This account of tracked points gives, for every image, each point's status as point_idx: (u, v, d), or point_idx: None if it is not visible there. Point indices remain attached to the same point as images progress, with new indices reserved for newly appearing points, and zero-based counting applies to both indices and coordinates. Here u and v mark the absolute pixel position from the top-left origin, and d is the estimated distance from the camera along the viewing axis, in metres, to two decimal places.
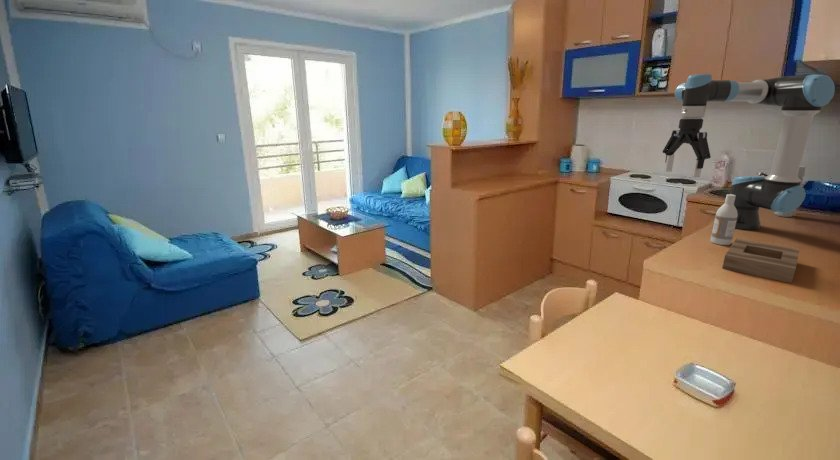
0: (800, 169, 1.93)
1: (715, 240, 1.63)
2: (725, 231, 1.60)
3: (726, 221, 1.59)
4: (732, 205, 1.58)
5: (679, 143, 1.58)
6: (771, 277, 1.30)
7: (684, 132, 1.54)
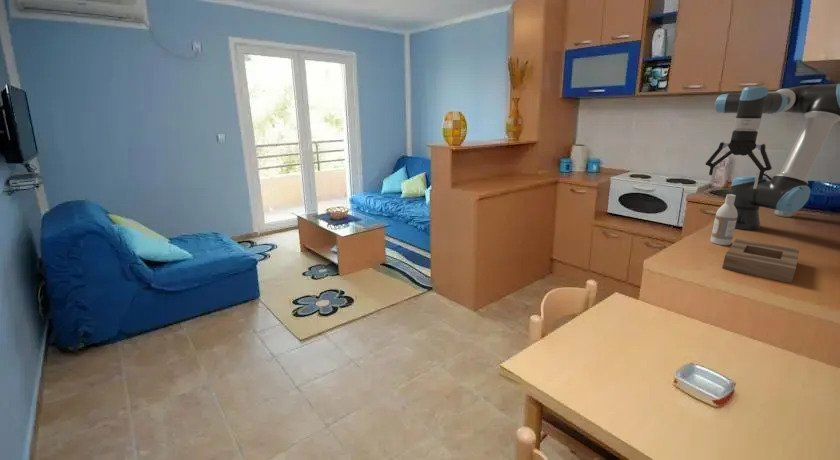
0: None
1: (715, 240, 1.63)
2: (725, 231, 1.60)
3: (726, 222, 1.59)
4: (732, 205, 1.58)
5: None
6: (771, 277, 1.30)
7: (738, 144, 1.53)
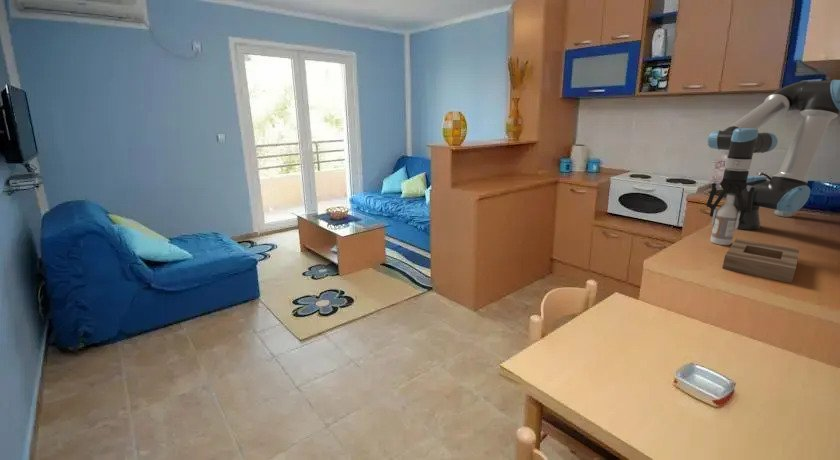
0: None
1: (715, 240, 1.63)
2: (725, 231, 1.60)
3: (726, 221, 1.59)
4: (732, 205, 1.58)
5: (724, 194, 1.60)
6: (771, 277, 1.30)
7: (729, 181, 1.57)
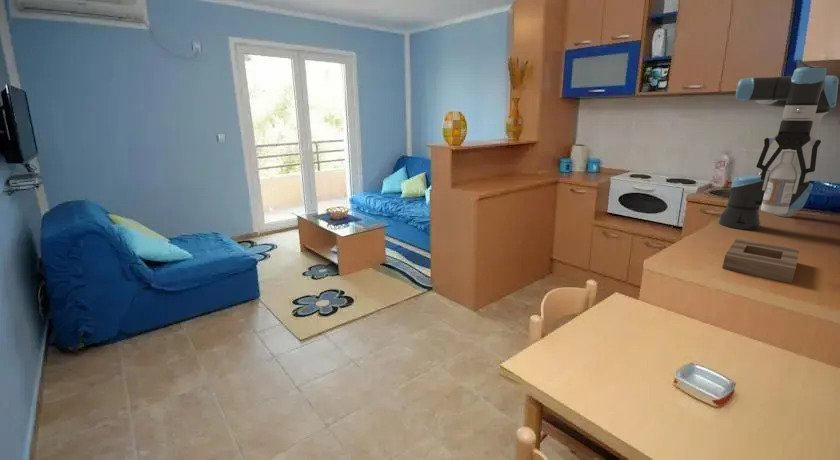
0: None
1: (768, 208, 1.34)
2: (781, 196, 1.31)
3: (782, 184, 1.30)
4: (790, 164, 1.29)
5: (780, 151, 1.31)
6: (771, 277, 1.30)
7: (787, 134, 1.28)
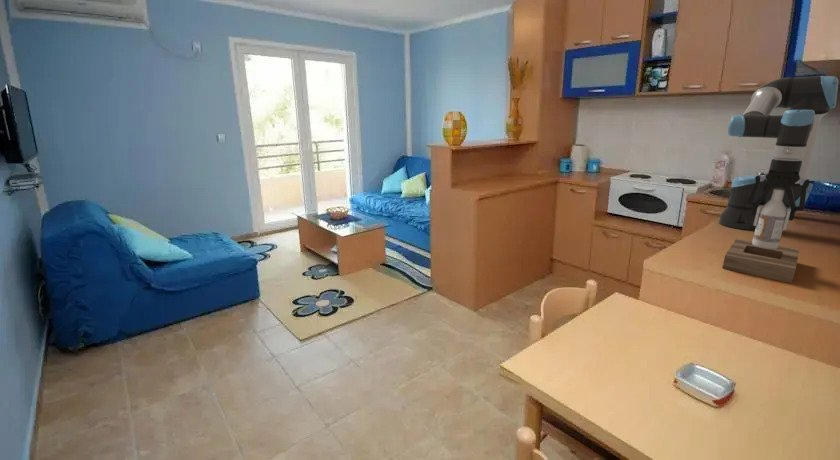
0: None
1: (759, 244, 1.38)
2: (771, 232, 1.35)
3: (773, 221, 1.34)
4: (780, 202, 1.33)
5: (771, 189, 1.35)
6: (771, 277, 1.30)
7: (778, 173, 1.32)
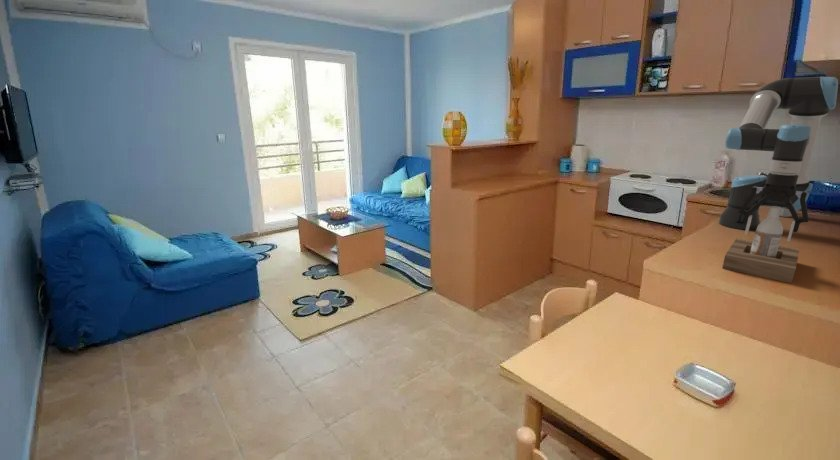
0: None
1: None
2: (767, 249, 1.36)
3: (769, 238, 1.35)
4: (777, 219, 1.35)
5: (765, 201, 1.36)
6: (771, 277, 1.30)
7: (774, 188, 1.33)
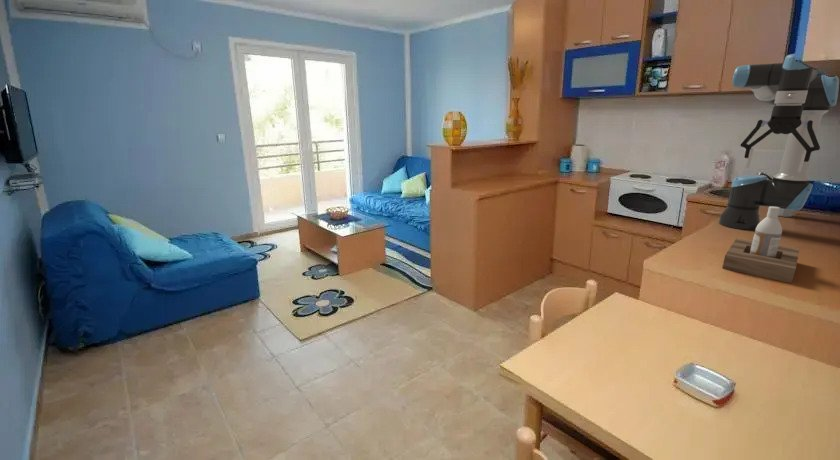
0: None
1: None
2: (767, 249, 1.37)
3: (768, 239, 1.36)
4: (776, 219, 1.35)
5: (768, 134, 1.36)
6: (771, 277, 1.30)
7: (780, 121, 1.33)
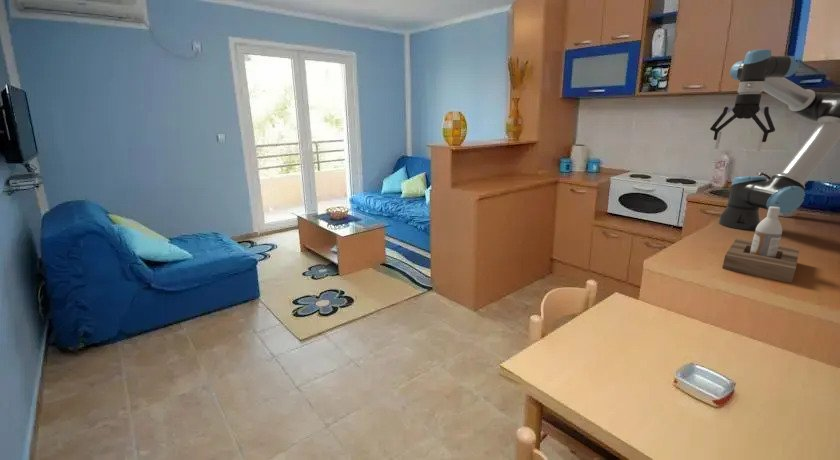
0: None
1: None
2: (767, 249, 1.37)
3: (768, 239, 1.35)
4: (776, 219, 1.35)
5: (733, 119, 1.60)
6: (771, 277, 1.30)
7: (742, 108, 1.56)
